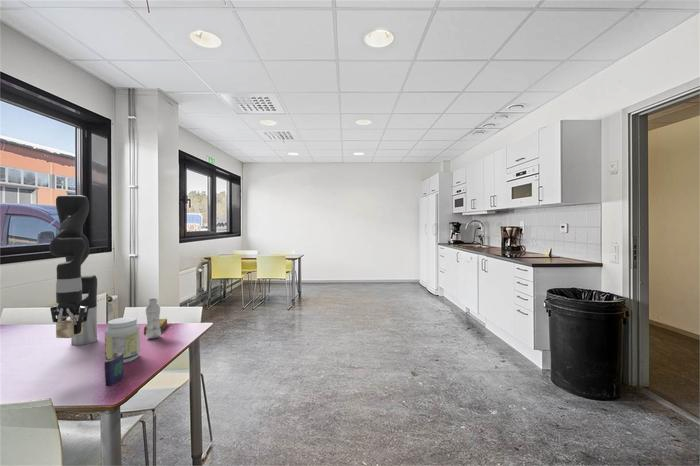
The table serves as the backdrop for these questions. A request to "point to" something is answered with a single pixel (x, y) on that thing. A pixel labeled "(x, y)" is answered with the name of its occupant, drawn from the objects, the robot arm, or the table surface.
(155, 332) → the plastic bottle
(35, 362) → the table surface
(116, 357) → the flask
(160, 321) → the carton
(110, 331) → the supplement tub
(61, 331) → the beech cube
